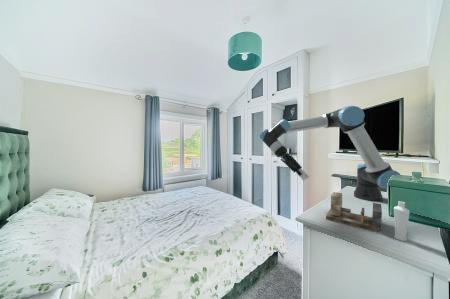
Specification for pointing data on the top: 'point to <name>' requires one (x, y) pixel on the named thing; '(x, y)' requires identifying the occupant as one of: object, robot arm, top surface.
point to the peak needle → (362, 214)
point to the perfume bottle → (401, 221)
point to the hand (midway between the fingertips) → (306, 178)
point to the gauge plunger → (337, 204)
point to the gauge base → (355, 219)
